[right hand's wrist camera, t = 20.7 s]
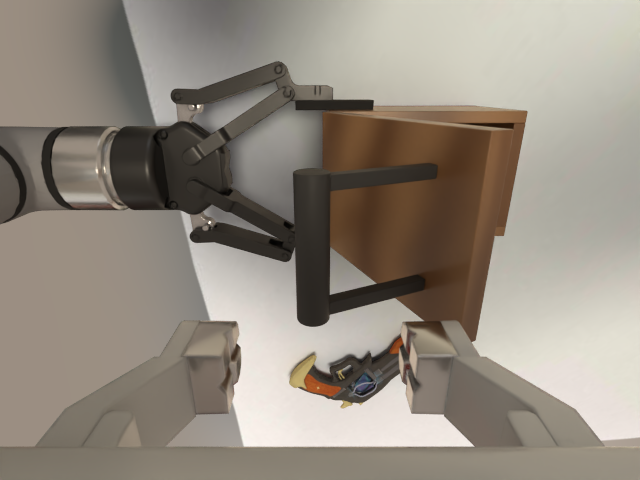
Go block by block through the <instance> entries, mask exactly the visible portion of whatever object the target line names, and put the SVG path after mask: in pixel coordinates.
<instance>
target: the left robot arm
mask: <svg viewBox="0 0 640 480" xmlns="http://www.w3.org/2000/svg"><path fill="white" fill-rule="evenodd" d="M274 81H276V84H277V86H278V89H279V90H277V91H276V92H274V93H273V94H272V95H270V96H269V97H267V98H266V99H264V100H263V101H261V102H260V103H258V104H257V105H255V106H254V107H252V108H251V109H249V110H248V111H246V112H245V113H243V114H242V115H240V116H239V117H237V118H236V119H234V120H233V121H231V122H230V123H228V124H227V125H225V126H224V127H222V128H221V129H219V130H217V131H216V132H214V133H213V134H210V133H209V132H207V131H206V130H204V129H203V128H201V127H200V126H199V125H197V124H196V123H194V122H193V117H194V115H196V114H199V113H201V112H202V111H203V109H204V104H209V103H214V102H217V101H220V100H223V99H226V98H228V97H231V96H234V95H237V94H240V93H243V92H246V91H248V90H251V89H254V88H257V87H260V86H263V85H266V84H268V83H271V82H274ZM171 99H172V100H173V102H174V103H176V105H177V116H178V122H177V123H175V124H174V125H172V126H127V127H123V128H122V129H120V128H118V127H115V126H92V127H91V126H89V127H87V126H86V127H61V128H58V127H57V128H56V127H0V224H2V223H6V222H9V221H11V220H13V219H16V218H18V217H21V216H23V215H25V214H28V213H30V212H34V211H41V210H125V209H128V208H130V209H133V210H181V211H184V212H186V213H188V214H190V216H191V222H192V227H193V231H192V232H191V234H190V239H191V240H192V241H193V242H195V243H206V242H216V243H219V244H223V245H226V246H230V247H233V248H237V249H241V250H244V251H248V252H251V253H255V254H258V255H262V256H265V257H269V258H272V259H276V260H280V261H283V262H288V261H289V260H290V259H291V257H292V253H293V251H294V248H295V225H294V224H292V223H290V222H289V221H287V220H285V219H283V218H282V217H280V216H278V215H276V214H275V213H273V212H271V211H269V210H267V209H266V208H264V207H262V206H260V205H259V204H257V203H255V202H253V201H252V200H250V199H248V198H246V197H244V196H243V195H241V193H240V192H239V191H237V190H235V189H233V188H232V187H230V186H231V184H232V175H231V172H230V169H229V162H230V150H228V149H227V147H226V146H225V144H226V143H228V142H229V141H231V140H232V139H234V138H235V137H237V136H238V135H240V134H241V133H243V132H244V131H246V130H247V129H249V128H250V127H252V126H253V125H255V124H256V123H258V122H259V121H261V120H262V119H264V118H265V117H267V116H268V115H270V114H271V113H273V112H275V111H276V110H278V109H279V108H281V107H282V106H284V105H285V104H287V103H288V102H290V101H295V103H296V110H373V103H374V100H333V88H332V87H329V86H299V85H295V84H294V83H293V82H292V80H291V78H290V75H289V72H288V69H287V67H286V66H285V65H284V64H283V63H282V62H279V61H278V62H274V63H271V64H268V65H266V66H263V67H260V68H257V69H254V70H251V71H249V72H246V73H243V74H240V75H237V76H235V77H232V78H229V79H226V80H223V81H220V82H218V83H215V84H212V85H209V86H206V87H204V88H201V89H174V90H173V91H172V92H171ZM212 204H213V205H214V206H216V207H218V208H220V209H222V210H224V211H226V212H231V213H233V214H235V215H237V216H239V217H240V218H242V219H244V220H246V221H248V222H249V223H251V224H253V225H255V226H257V227H259V228H260V229H262V230H264V231H266V232H268V233H269V234H271V235H273V236H275V237H277V238H274V237H271V236H267V235H264V234H260V233H257V232H254V231H250V230H247V229H243V228H240V227H236V226H233V225H229V224H225V223H219V222H216V221H215V220H214V219H213V218H211V217H207V216H206V215H205V214H204V212H203V211H204V210H206V209H207V208H208V207H210V206H211V205H212ZM278 238H279V239H278Z"/></svg>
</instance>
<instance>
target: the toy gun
mask: <svg viewBox="0 0 640 480" xmlns="http://www.w3.org/2000/svg"><path fill="white" fill-rule="evenodd" d="M402 344H403V340H402V337H400V338H399V339H397V340H396V341H395V342H394V344H393V346H392V347H391V349H390V350H389V352H388V353H387V354H385V355H384V356H382V357H381V358H379V359H378V360H375V361H373V362H372V357H371V353H369V355H368V356H367V358H366V359H365V360H364V361H363V362H362V363H360V362H358V360H357V359H355V358H352V357H349V358H347V359H346V360H345V361H343V362H341V363H339V364H337V365H334V366H331V367H330V373H331V374H332V376H333V378H329V377H326V376H324V375H321V374H319V373H318V372H317V370H316V369H315V368H314V366H313V364H314V362H315V360H316V356H315V355H312V356H310V357H309V358H307V359H306V360H304V361H303V362H302V363H300V364H299V365H298V366H297V367H296V368H295V369H294V371H293V372H292V374H291V377H290V381H289V383H290V385H291V386H292V387H294V388H297V387H298V388H300V389H302V390H304V391H307V392H310V393H313V394H317V395H322V396H325V397H326V398H328V399H332V400H342V401H343V402H344V403H343V404H342V405H341V408H345V407H347V406H351V405H352V403H359V404H360V405H361V404H362V403H363V402H365V401H367V400H368V399H370V398H371V397H372V396H374V395H375V394H377V393H378V392H379V391H380V390H382V389H383V388H384V387H385V386H386V385H387V384H388V383H389V381H390V380H391V379H393V378H394V377H395V376H397V375H398V374H400V369H399V348H400V346H401V345H402ZM348 365H352V367H353V370H351V371H350V372H349V373H347V374H346V375H345V376H343V375H342V373H341V372H342V370H343V368H345V367H347V366H348ZM336 371H338V375H339V374H340V375H341V376H342V377H340V375H339V378H338V377H337V376H336V375H335V372H336ZM356 379H357V381H356V383H355V385H354V388H353V382H354V381H355V380H356ZM373 380H374V381H377V382H376V384H375V385H374V384H373V382H374V381H373ZM351 383H352V386H350V384H351ZM357 392H361V393H357Z"/></svg>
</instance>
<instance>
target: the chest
mask: <svg viewBox="0 0 640 480" xmlns="http://www.w3.org/2000/svg"><path fill="white" fill-rule="evenodd" d="M326 112H345V113H355V114H365V115H375V116H385V117H395V118H405V119H415V120H425V121H435V122H445V123H455V124H465V125H475V126H485V127H495V128H505V129H513V130H514V131H513V137H512V142H511V148H510V154H509V159H508V165H507V170H506V176H505V181H504V187H503V192H502V198H501V203H500V209H499V214H498V220H497V225H496V231H495V236H504V232H505V226H506V222H507V217H508V212H509V206H510V201H511V196H512V191H513V185H514V180H515V175H516V170H517V164H518V159H519V154H520V149H521V144H522V138H523V133H524V128H525V122H526V117H527V111H522V110H512V109H501V108H491V107H480V106H373V110H326Z"/></svg>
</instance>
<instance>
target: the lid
mask: <svg viewBox="0 0 640 480" xmlns="http://www.w3.org/2000/svg"><path fill="white" fill-rule="evenodd" d="M513 131H514V130H513V129H505V128H495V127H485V126H475V125H465V124H455V123H445V122H435V121H425V120H415V119H405V118H395V117H385V116H375V115H365V114H355V113H345V112H323V169H317V168H308V169H299V170H296V171H294V172H293V186H294V222H295V257H296V292H297V319H298V321H299V322H300V323H301V324H303V325H305V326H310V327H316V326H321V325H323V324H325V323H327V322H328V320H329V315H331V314H334V313H338V312H342V311H346V310H350V309H354V308H357V307H361V306H365V305H369V304H373V303H377V302H381V301H384V300H388V299H392V298H396V299H397V300H399V301H400V302H401V303H402V304H404V305H405V306H406V307H407V308H409V309H410V310H411V311H412V312H414V313H415V314H416V315H418V316H419V317H420V318H421V319H423V320H424V321H449V320H456V321H458V322H459V323H460V324H461V326H462V328H463V329H464V331H465V333H466V334H467V336H468V337H469V339H470V341H471V342H473V341H475V340H476V335H477V330H478V324H479V319H480V313H481V308H482V302H483V297H484V291H485V286H486V280H487V275H488V269H489V264H490V258H491V253H492V247H493V242H494V236H495V231H496V225H497V220H498V214H499V209H500V203H501V198H502V192H503V187H504V181H505V176H506V170H507V165H508V159H509V154H510V148H511V142H512V137H513ZM330 247H331V248H333V249H334V250H335V251H336V252H338V253H339V254H340V255H342V256H343V257H344V258H345V259H347V260H348V261H349V262H350V263H352V264H353V265H354V266H355V267H357V268H358V269H359V270H361V271H362V272H363V273H364V274H366V275H367V276H368V277H369V278H371V279H372V280H373V281H374V282H376V283H377V284H374V285H370V286H366V287H362V288H357V289H353V290H349V291H345V292H340V293H336V294H332V295H330Z"/></svg>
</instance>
